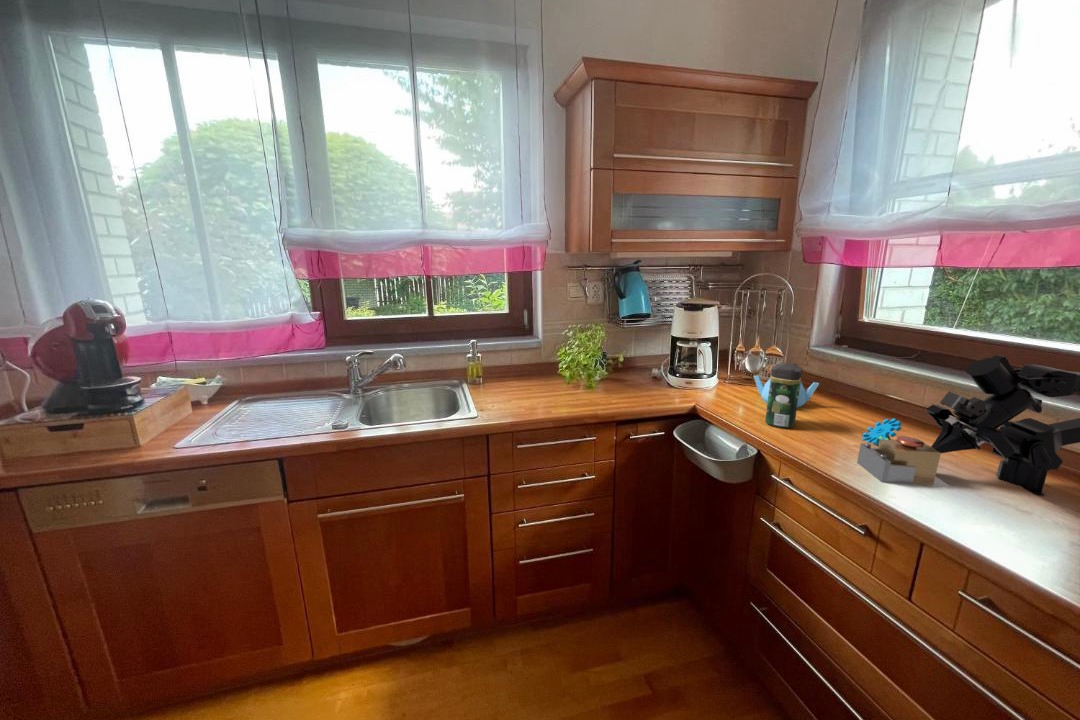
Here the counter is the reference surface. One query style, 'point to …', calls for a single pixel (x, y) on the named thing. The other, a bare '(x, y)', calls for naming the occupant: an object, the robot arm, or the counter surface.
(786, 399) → the coffee jar
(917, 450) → the tan box
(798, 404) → the teapot
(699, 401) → the counter surface
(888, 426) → the gear
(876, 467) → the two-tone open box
